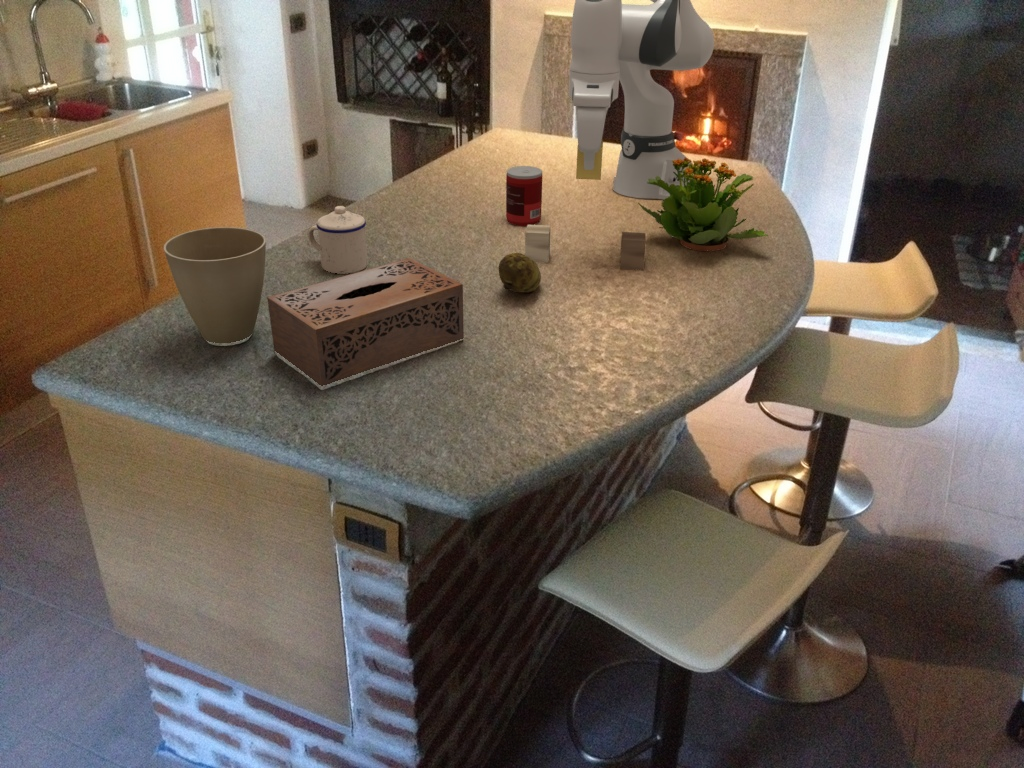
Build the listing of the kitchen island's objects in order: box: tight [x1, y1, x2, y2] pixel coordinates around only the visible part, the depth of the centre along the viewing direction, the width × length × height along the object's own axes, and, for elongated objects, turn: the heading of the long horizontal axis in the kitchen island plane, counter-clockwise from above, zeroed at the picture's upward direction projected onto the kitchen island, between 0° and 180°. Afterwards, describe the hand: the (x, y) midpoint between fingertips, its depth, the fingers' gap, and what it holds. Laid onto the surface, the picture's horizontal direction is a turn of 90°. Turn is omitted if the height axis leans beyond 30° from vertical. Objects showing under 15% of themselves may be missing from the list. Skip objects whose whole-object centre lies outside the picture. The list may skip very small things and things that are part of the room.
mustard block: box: [575, 140, 604, 181], centre depth 165 cm, size 4×4×6 cm
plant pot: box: [163, 226, 267, 343], centre depth 140 cm, size 15×15×16 cm
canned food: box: [505, 165, 543, 227], centre depth 193 cm, size 8×8×11 cm
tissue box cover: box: [266, 257, 465, 386], centre depth 139 cm, size 26×14×10 cm, turn 130°
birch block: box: [524, 224, 552, 264], centre depth 174 cm, size 4×4×6 cm
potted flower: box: [637, 156, 769, 253], centre depth 179 cm, size 25×24×18 cm
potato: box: [498, 252, 542, 293], centre depth 159 cm, size 8×13×8 cm, turn 151°
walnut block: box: [619, 231, 647, 272], centre depth 171 cm, size 4×4×6 cm
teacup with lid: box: [307, 205, 368, 275], centre depth 168 cm, size 12×9×12 cm
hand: (589, 164), depth 165 cm, fingers closed on mustard block, 4 cm apart
